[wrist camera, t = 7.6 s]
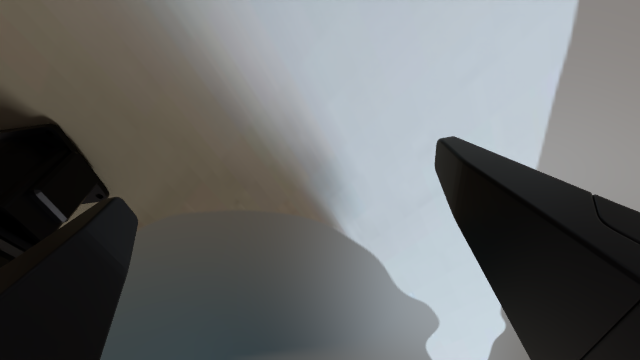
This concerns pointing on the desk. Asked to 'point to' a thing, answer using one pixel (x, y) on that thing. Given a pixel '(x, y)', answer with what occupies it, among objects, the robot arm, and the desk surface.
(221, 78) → the desk surface
